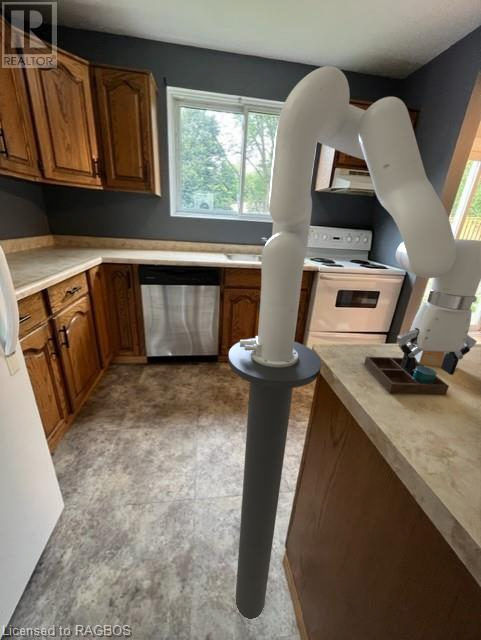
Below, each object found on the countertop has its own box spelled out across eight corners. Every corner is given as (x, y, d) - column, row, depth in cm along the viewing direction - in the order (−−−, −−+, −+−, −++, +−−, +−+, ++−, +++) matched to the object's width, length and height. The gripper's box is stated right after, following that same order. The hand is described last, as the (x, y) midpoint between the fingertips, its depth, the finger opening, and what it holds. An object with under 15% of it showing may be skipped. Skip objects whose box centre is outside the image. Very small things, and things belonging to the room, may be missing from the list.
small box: (418, 364, 75) (429, 329, 71) (413, 355, 80) (423, 322, 76) (452, 370, 72) (465, 334, 69) (444, 360, 78) (456, 326, 74)
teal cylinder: (418, 388, 62) (423, 374, 61) (407, 378, 66) (411, 365, 65) (436, 388, 62) (441, 375, 61) (424, 378, 66) (428, 366, 65)
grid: (389, 393, 61) (392, 384, 60) (364, 364, 73) (365, 356, 72) (445, 395, 61) (449, 385, 60) (411, 366, 74) (413, 358, 73)
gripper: (474, 297, 61) (450, 364, 67) (399, 294, 60) (381, 362, 66) (505, 307, 54) (475, 381, 60) (420, 304, 53) (399, 378, 59)
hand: (426, 371), depth 63 cm, fingers open, 9 cm apart
